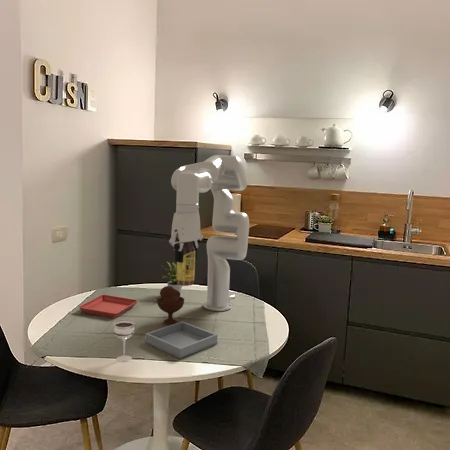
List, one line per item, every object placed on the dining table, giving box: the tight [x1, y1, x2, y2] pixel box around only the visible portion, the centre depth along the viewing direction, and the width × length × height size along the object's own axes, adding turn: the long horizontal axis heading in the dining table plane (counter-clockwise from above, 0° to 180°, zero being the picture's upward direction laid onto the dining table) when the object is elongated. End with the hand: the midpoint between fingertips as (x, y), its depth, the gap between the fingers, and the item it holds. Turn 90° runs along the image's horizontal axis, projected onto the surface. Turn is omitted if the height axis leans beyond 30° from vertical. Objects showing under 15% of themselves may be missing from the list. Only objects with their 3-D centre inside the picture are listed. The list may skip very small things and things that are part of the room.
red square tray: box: [78, 294, 139, 319], centre depth 204 cm, size 18×18×3 cm
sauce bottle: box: [176, 241, 196, 287], centre depth 168 cm, size 7×6×20 cm
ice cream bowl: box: [156, 285, 185, 326], centre depth 191 cm, size 11×11×15 cm
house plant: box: [159, 262, 183, 295], centre depth 225 cm, size 14×14×16 cm
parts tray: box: [144, 321, 218, 360], centre depth 173 cm, size 18×18×4 cm
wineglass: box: [113, 319, 136, 363], centre depth 158 cm, size 7×7×12 cm
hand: (185, 259), depth 168 cm, fingers closed on sauce bottle, 6 cm apart
